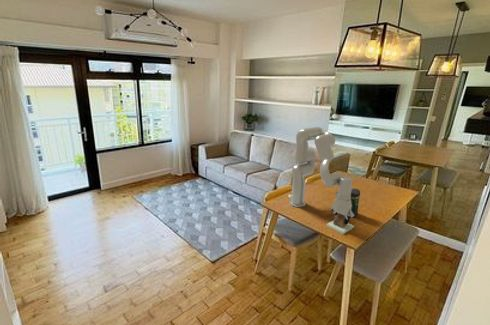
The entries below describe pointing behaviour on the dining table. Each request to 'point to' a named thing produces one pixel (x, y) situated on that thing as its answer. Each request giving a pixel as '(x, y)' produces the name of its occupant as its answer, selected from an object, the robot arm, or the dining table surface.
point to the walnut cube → (339, 220)
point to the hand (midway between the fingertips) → (340, 221)
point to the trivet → (341, 230)
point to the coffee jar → (354, 200)
